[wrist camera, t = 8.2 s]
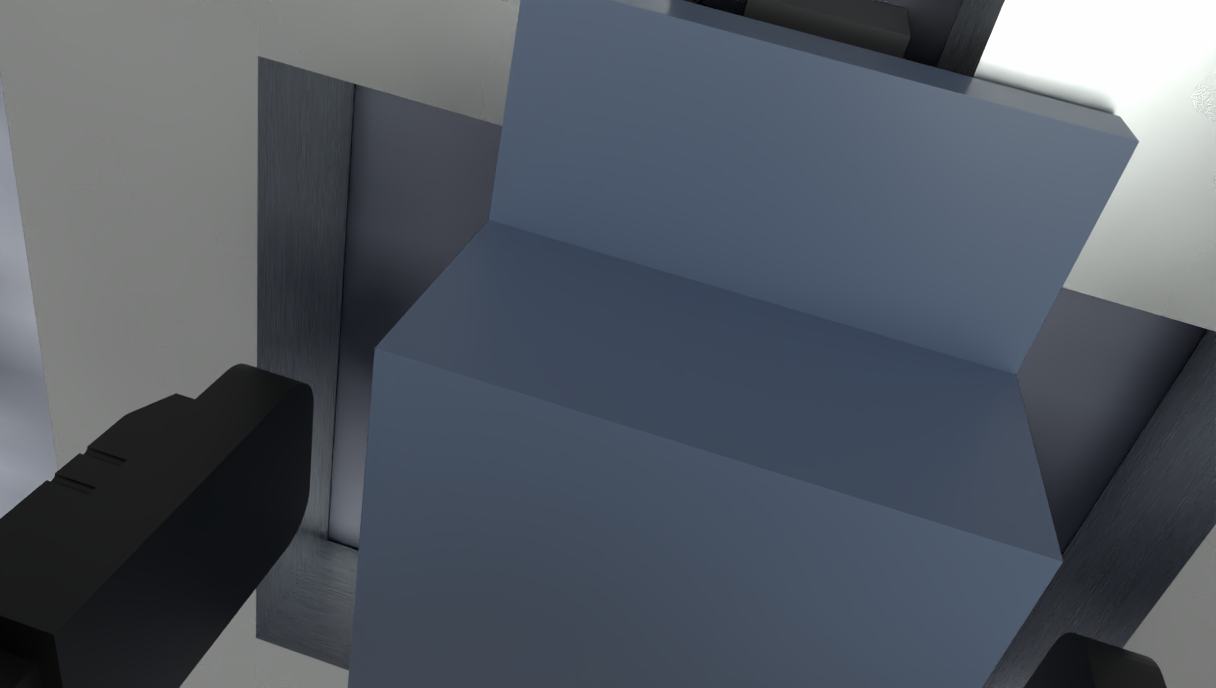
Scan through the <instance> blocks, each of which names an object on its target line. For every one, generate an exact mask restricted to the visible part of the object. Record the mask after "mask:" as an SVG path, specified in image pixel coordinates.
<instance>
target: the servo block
mask: <svg viewBox="0 0 1216 688" xmlns="http://www.w3.org/2000/svg"><path fill="white" fill-rule="evenodd" d="M910 37H911V35H910V29H909V23H908V17H907V11H906V9H905V8H901V7H897V6H893V5H890V4H886V3H882V2H878V1H874V0H748V1H747V4H746V8H745V12H744V15H743V16H739V15H736V14H732V13H728V12H724V11H721V10H717V9H713V8H709V7H706V6H702V5H698V4H694V3H690V2H687V1H683V0H520V6H519V13H518V20H517V27H516V34H515V41H514V48H513V55H512V62H511V68H510V75H509V82H508V89H507V96H506V103H505V110H504V117H503V124H502V130H501V137H500V144H499V151H498V158H497V165H496V172H495V179H494V186H493V192H492V199H491V206H490V213H489V220H488V221H487V222H486V223H485V224H484V226H483V227H482V228H481V229H480V230H479V231H478V232H477V233H476V235H475V236H474V237H473V238H472V239H471V240H470V241H469V242H468V244H467V245H466V246H465V247H464V248H463V249H462V250H461V251H460V253H459V254H458V255H457V256H456V257H455V258H454V259H453V260H452V262H451V263H450V264H449V265H448V266H447V267H446V268H445V269H444V271H443V272H442V273H441V274H440V275H439V276H438V277H437V278H436V280H435V281H434V282H433V283H432V284H431V285H430V286H429V287H428V289H427V290H426V291H425V292H424V293H423V294H422V295H421V296H420V298H419V299H418V300H417V301H416V302H415V303H414V304H413V305H412V307H411V308H410V309H409V310H408V311H407V312H406V313H405V314H404V316H403V317H402V318H401V319H400V320H399V321H398V322H397V323H396V325H395V326H394V327H393V328H392V329H391V330H390V331H389V332H388V334H387V335H386V336H385V337H384V338H383V339H382V340H381V341H380V343H379V344H378V345H377V346H376V347H375V352H374V364H373V377H372V389H371V402H370V414H369V427H368V439H367V452H366V464H365V477H364V489H363V502H362V514H361V527H360V539H359V552H358V564H357V577H356V589H355V602H354V614H353V627H352V639H351V652H350V664H349V677H348V688H982V687H983V685H984V684H985V682H986V681H987V679H988V677H989V676H990V674H991V673H992V671H993V670H994V668H995V667H996V665H997V664H998V662H999V660H1000V659H1001V657H1002V656H1003V654H1004V653H1005V651H1006V650H1007V648H1008V647H1009V645H1010V643H1011V642H1012V640H1013V639H1014V637H1015V636H1016V634H1017V633H1018V631H1019V629H1020V628H1021V626H1022V625H1023V623H1024V622H1025V620H1026V619H1027V617H1028V616H1029V614H1030V612H1031V611H1032V609H1033V608H1034V606H1035V605H1036V603H1037V602H1038V600H1039V599H1040V597H1041V595H1042V594H1043V592H1044V591H1045V589H1046V588H1047V586H1048V585H1049V583H1050V581H1051V580H1052V578H1053V577H1054V575H1055V574H1056V572H1057V571H1058V569H1059V568H1060V566H1061V564H1062V563H1063V559H1062V555H1061V551H1060V547H1059V544H1058V540H1057V536H1056V532H1055V528H1054V524H1053V520H1052V516H1051V512H1050V508H1049V504H1048V500H1047V496H1046V492H1045V488H1044V484H1043V480H1042V476H1041V472H1040V468H1039V464H1038V460H1037V456H1036V452H1035V448H1034V444H1033V440H1032V436H1031V432H1030V428H1029V424H1028V420H1027V416H1026V412H1025V408H1024V405H1023V401H1022V397H1021V393H1020V389H1019V385H1018V381H1017V377H1016V374H1017V372H1018V370H1019V368H1020V366H1021V364H1022V363H1023V361H1024V359H1025V357H1026V355H1027V353H1028V351H1029V349H1030V347H1031V346H1032V344H1033V342H1034V340H1035V338H1036V336H1037V334H1038V332H1039V330H1040V329H1041V327H1042V325H1043V323H1044V321H1045V319H1046V317H1047V315H1048V313H1049V312H1050V310H1051V308H1052V306H1053V304H1054V302H1055V300H1056V298H1057V296H1058V295H1059V293H1060V291H1061V289H1062V287H1063V285H1064V283H1065V281H1066V279H1067V277H1068V276H1069V274H1070V272H1071V270H1072V268H1073V266H1074V264H1075V262H1076V260H1077V259H1078V257H1079V255H1080V253H1081V251H1082V249H1083V247H1084V245H1085V243H1086V242H1087V240H1088V238H1089V236H1090V234H1091V232H1092V230H1093V228H1094V226H1095V225H1096V223H1097V221H1098V219H1099V217H1100V215H1101V213H1102V211H1103V209H1104V208H1105V206H1106V204H1107V202H1108V200H1109V198H1110V196H1111V194H1112V192H1113V191H1114V189H1115V187H1116V185H1117V183H1118V181H1119V179H1120V177H1121V175H1122V173H1123V172H1124V170H1125V168H1126V166H1127V164H1128V162H1129V160H1130V158H1131V156H1132V155H1133V153H1134V151H1135V149H1136V147H1137V145H1138V143H1139V140H1138V139H1137V138H1136V136H1135V135H1134V134H1133V132H1132V131H1131V130H1130V129H1129V127H1128V126H1127V125H1126V123H1125V122H1124V121H1123V120H1122V118H1121V117H1120V116H1117V115H1113V114H1109V113H1105V112H1101V111H1098V110H1094V109H1090V108H1086V107H1083V106H1079V105H1075V104H1071V103H1068V102H1064V101H1060V100H1056V99H1052V98H1049V97H1045V96H1041V95H1037V94H1034V93H1030V92H1026V91H1022V90H1019V89H1015V88H1011V87H1007V86H1003V85H1000V84H996V83H992V82H988V81H985V80H981V79H977V78H973V77H970V76H966V75H962V74H958V73H954V72H951V71H947V70H943V69H939V68H936V67H932V66H928V65H924V64H920V63H917V62H913V61H909V60H905V59H903V56H904V53H905V51H906V48H907V45H908V42H909V40H910Z"/></svg>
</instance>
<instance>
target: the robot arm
mask: <svg viewBox="0 0 1216 688" xmlns="http://www.w3.org/2000/svg"><path fill="white" fill-rule="evenodd" d="M313 407H314V397H313V391H312V389H311V387H310V386H309V385H308V384H306V383H303V382H300V381H297V380H294V379H291V378H288V377H285V376H281V375H278V374H275V373H272V372H269V371H266V370H263V369H260V368H257V367H253V366H250V365H247V364H243V363H240V364H236V365H234V366H232V367H231V368H230V369H228V370H227V371H226V372H225V373H224V374H223V375H221V376H220V377H219V378H218V379H217V380H216V381H215V382H214V383H212V384H211V385H210V386H209V387H208V388H207V389H206V390H205V391H204V392H202V393H201V394H200V395H199V396H198V397H197V398H196V399H193V398H190V397H186V396H183V395H180V394H177V393H175V394H173V395H171V396H168V397H166V398H164V399H161V400H159V401H157V402H154V403H152V404H149V405H147V406H145V407H142V408H140V409H138V410H135V411H133V412H130V413H128V414H126V415H124V416H123V417H122V418H121V419H120V420H118V421H117V422H116V423H115V424H114V425H112V426H111V427H110V428H109V429H108V430H106V431H105V432H104V433H103V434H102V435H100V436H99V437H98V438H97V439H96V440H94V441H93V442H92V443H91V444H90V445H88V446H87V450H86V452H85V453H84V454H81V453H79V454H78V455H76V456H75V457H74V458H73V459H72V460H70V461H69V462H68V463H67V464H66V465H64V466H63V467H62V468H61V469H60V470H58V471H57V472H56V473H55V477H54V479H53V480H52V481H51V482H50V481H47V480H46V481H45V482H44V483H43V484H42V485H40V486H39V487H38V488H37V489H36V490H34V491H33V492H32V493H31V494H30V495H28V496H27V497H26V498H25V499H24V500H22V501H21V502H20V503H19V504H18V505H17V506H15V507H14V508H13V509H12V510H11V511H9V512H8V513H7V514H6V515H5V516H3V517H2V518H1V519H0V688H179V687H180V686H181V685H182V684H183V682H184V681H185V680H186V678H187V677H188V676H189V675H190V673H191V672H192V671H193V669H194V668H195V667H196V665H197V664H198V663H199V662H200V660H201V659H202V658H203V656H204V655H205V654H206V652H207V651H208V650H209V649H210V647H211V646H212V645H213V643H214V642H215V641H216V640H217V638H218V637H219V636H220V634H221V633H222V632H223V630H224V629H225V628H226V627H227V625H228V624H229V623H230V621H231V620H232V619H233V618H234V616H235V615H236V614H237V612H238V611H239V610H240V608H241V607H242V606H243V605H244V603H245V602H246V601H247V599H248V598H249V597H250V596H251V594H252V593H253V592H254V590H255V589H256V588H257V586H258V585H259V584H260V583H261V581H262V580H263V579H264V577H265V576H266V575H267V574H268V572H269V571H270V570H271V568H272V567H273V566H274V564H275V563H276V562H277V561H278V559H279V558H280V557H281V555H282V554H283V553H284V552H285V550H286V549H287V547H288V546H289V545H290V543H291V541H292V540H293V538H294V536H295V535H296V533H297V531H298V529H299V526H300V524H301V522H302V519H303V517H304V514H305V511H306V507H307V503H308V499H309V493H310V475H311V453H312V430H313ZM1024 688H1167V687H1166V684H1165V681H1164V678H1163V675H1162V673H1161V670H1160V668H1159V666H1158V665H1157V663H1156V662H1155V661H1154V660H1153V659H1151V658H1150V657H1148V656H1145V655H1142V654H1138V653H1135V652H1132V651H1129V650H1126V649H1123V648H1120V647H1117V646H1114V645H1110V644H1107V643H1104V642H1101V641H1098V640H1095V639H1092V638H1089V637H1086V636H1083V635H1079V634H1076V633H1072V632H1069V633H1065V634H1064V635H1062V636H1061V637H1059V638H1058V639H1057V640H1056V642H1055V643H1054V644H1053V645H1052V647H1051V648H1050V650H1049V651H1048V653H1047V654H1046V656H1045V657H1044V659H1043V660H1042V661H1041V663H1040V664H1039V666H1038V667H1037V669H1036V670H1035V672H1034V673H1033V674H1032V676H1031V677H1030V679H1029V680H1028V682H1027V683H1026V685H1025V686H1024Z"/></svg>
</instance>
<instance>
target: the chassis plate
mask: <svg viewBox="0 0 1216 688" xmlns="http://www.w3.org/2000/svg"><path fill="white" fill-rule="evenodd" d="M683 1H687V2H690V3H694V4H698V0H683ZM519 6H520V0H0V72H1V79H2V86H3V93H4V100H5V107H6V114H7V121H8V128H9V135H10V141H11V148H12V155H13V162H14V169H15V176H16V183H17V190H18V197H19V204H20V211H21V217H22V224H23V231H24V238H25V245H26V252H27V259H28V266H29V273H30V280H31V287H32V293H33V300H34V307H35V314H36V321H37V328H38V335H39V342H40V349H41V356H42V363H43V369H44V376H45V383H46V390H47V397H48V404H49V411H50V418H51V425H52V432H53V439H54V445H55V452H56V459H57V466H58V470H60V469H61V468H62V467H63V466H64V465H66V464H67V463H68V462H69V461H70V460H72V459H73V458H74V457H75V456H76V455H78V454H79V453H81V454H84V453H85V452H86V450H87V446H88V445H90V444H91V443H92V442H93V441H94V440H96V439H97V438H98V437H99V436H100V435H102V434H103V433H104V432H105V431H106V430H108V429H109V428H110V427H111V426H112V425H114V424H115V423H116V422H117V421H118V420H120V419H121V418H122V417H123V416H124V415H126V414H128V413H130V412H133V411H135V410H138V409H140V408H142V407H145V406H147V405H149V404H152V403H154V402H157V401H159V400H161V399H164V398H166V397H168V396H171V395H173V394H175V393H177V394H180V395H183V396H186V397H190V398H193V399H196V398H197V397H198V396H199V395H200V394H201V393H202V392H204V391H205V390H206V389H207V388H208V387H209V386H210V385H211V384H212V383H214V382H215V381H216V380H217V379H218V378H219V377H220V376H221V375H223V374H224V373H225V372H226V371H227V370H228V369H230V368H231V367H232V366H234V365H236V364H240V363H243V364H247V365H250V366H253V367H257V368H260V369H263V370H266V371H269V372H272V373H275V374H278V375H281V376H285V377H288V378H291V379H294V380H297V381H300V382H303V383H306V384H308V385H309V386H310V387H311V389H312V391H313V397H314V407H313V430H312V453H311V475H310V493H309V499H308V503H307V507H306V511H305V514H304V517H303V519H302V522H301V524H300V526H299V529H298V531H297V533H296V535H295V536H294V538H293V540H292V541H291V543H290V545H289V546H288V547H287V549H286V550H285V552H284V553H283V554H282V555H281V557H280V558H279V559H278V561H277V562H276V563H275V564H274V566H273V567H272V568H271V570H270V571H269V572H268V574H267V575H266V576H265V577H264V579H263V580H262V581H261V583H260V584H259V585H258V586H257V588H256V589H255V590H254V592H253V593H252V594H251V596H250V597H249V598H248V599H247V601H246V602H245V603H244V605H243V606H242V607H241V608H240V610H239V611H238V612H237V614H236V615H235V616H234V618H233V619H232V620H231V621H230V623H229V624H228V625H227V627H226V628H225V629H224V630H223V632H222V633H221V634H220V636H219V637H218V638H217V640H216V641H215V642H214V643H213V645H212V646H211V647H210V649H209V650H208V651H207V652H206V654H205V655H204V656H203V658H202V659H201V660H200V662H199V663H198V664H197V665H196V667H195V668H194V669H193V671H192V672H191V673H190V675H189V676H188V677H187V678H186V680H185V681H184V682H183V684H182V685H181V686H180V687H179V688H348V677H349V664H350V652H351V639H352V627H353V614H354V602H355V589H356V577H357V564H358V552H359V551H358V550H355V549H352V548H349V547H346V546H343V545H340V544H337V543H334V542H331V541H328V540H327V534H328V518H329V501H330V484H331V467H332V450H333V434H334V417H335V400H336V383H337V366H338V350H339V333H340V316H341V299H342V282H343V266H344V249H345V232H346V215H347V198H348V182H349V165H350V148H351V131H352V114H353V98H354V84H357V85H361V86H364V87H368V88H371V89H375V90H378V91H382V92H385V93H389V94H392V95H396V96H399V97H403V98H406V99H410V100H413V101H417V102H420V103H423V104H427V105H430V106H434V107H437V108H441V109H444V110H448V111H451V112H455V113H458V114H462V115H465V116H469V117H472V118H476V119H479V120H483V121H486V122H490V123H493V124H496V125H500V126H502V124H503V117H504V110H505V103H506V96H507V89H508V82H509V75H510V68H511V62H512V55H513V48H514V41H515V34H516V27H517V20H518V13H519ZM937 68H939V69H943V70H947V71H951V72H954V73H958V74H962V75H966V76H970V77H973V78H977V79H981V80H985V81H988V82H992V83H996V84H1000V85H1003V86H1007V87H1011V88H1015V89H1019V90H1022V91H1026V92H1030V93H1034V94H1037V95H1041V96H1045V97H1049V98H1052V99H1056V100H1060V101H1064V102H1068V103H1071V104H1075V105H1079V106H1083V107H1086V108H1090V109H1094V110H1098V111H1101V112H1105V113H1109V114H1113V115H1117V116H1120V117H1121V118H1122V120H1123V121H1124V122H1125V123H1126V125H1127V126H1128V127H1129V129H1130V130H1131V131H1132V132H1133V134H1134V135H1135V136H1136V138H1137V139H1138V140H1139V143H1138V145H1137V147H1136V149H1135V151H1134V153H1133V155H1132V156H1131V158H1130V160H1129V162H1128V164H1127V166H1126V168H1125V170H1124V172H1123V173H1122V175H1121V177H1120V179H1119V181H1118V183H1117V185H1116V187H1115V189H1114V191H1113V192H1112V194H1111V196H1110V198H1109V200H1108V202H1107V204H1106V206H1105V208H1104V209H1103V211H1102V213H1101V215H1100V217H1099V219H1098V221H1097V223H1096V225H1095V226H1094V228H1093V230H1092V232H1091V234H1090V236H1089V238H1088V240H1087V242H1086V243H1085V245H1084V247H1083V249H1082V251H1081V253H1080V255H1079V257H1078V259H1077V260H1076V262H1075V264H1074V266H1073V268H1072V270H1071V272H1070V274H1069V276H1068V277H1067V279H1066V281H1065V283H1064V285H1063V288H1066V289H1070V290H1073V291H1077V292H1080V293H1084V294H1087V295H1091V296H1094V297H1098V298H1101V299H1105V300H1108V301H1112V302H1115V303H1119V304H1122V305H1126V306H1129V307H1132V308H1136V309H1139V310H1143V311H1146V312H1150V313H1153V314H1157V315H1160V316H1164V317H1167V318H1171V319H1174V320H1178V321H1181V322H1185V323H1188V324H1192V325H1195V326H1199V327H1202V328H1205V329H1208V331H1207V332H1206V334H1205V335H1204V337H1203V338H1202V340H1201V341H1200V343H1199V345H1198V346H1197V348H1196V349H1195V351H1194V352H1193V354H1192V355H1191V357H1190V358H1189V360H1188V362H1187V363H1186V365H1185V366H1184V368H1183V369H1182V371H1181V372H1180V374H1179V375H1178V377H1177V379H1176V380H1175V382H1174V383H1173V385H1172V386H1171V388H1170V389H1169V391H1168V392H1167V394H1166V396H1165V397H1164V399H1163V400H1162V402H1161V403H1160V405H1159V406H1158V408H1157V409H1156V411H1155V413H1154V414H1153V416H1152V417H1151V419H1150V420H1149V422H1148V423H1147V425H1146V426H1145V428H1144V430H1143V431H1142V433H1141V434H1140V436H1139V437H1138V439H1137V440H1136V442H1135V443H1134V445H1133V447H1132V448H1131V450H1130V451H1129V453H1128V454H1127V456H1126V457H1125V459H1124V460H1123V462H1122V464H1121V465H1120V467H1119V468H1118V470H1117V471H1116V473H1115V474H1114V476H1113V477H1112V479H1111V481H1110V482H1109V484H1108V485H1107V487H1106V488H1105V490H1104V491H1103V493H1102V494H1101V496H1100V498H1099V499H1098V501H1097V502H1096V504H1095V505H1094V507H1093V508H1092V510H1091V511H1090V513H1089V515H1088V516H1087V518H1086V519H1085V521H1084V522H1083V524H1082V525H1081V527H1080V528H1079V530H1078V532H1077V533H1076V535H1075V536H1074V538H1073V539H1072V541H1071V542H1070V544H1069V545H1068V547H1067V549H1066V550H1065V552H1064V553H1063V555H1062V559H1063V563H1062V564H1061V566H1060V568H1059V569H1058V571H1057V572H1056V574H1055V575H1054V577H1053V578H1052V580H1051V581H1050V583H1049V585H1048V586H1047V588H1046V589H1045V591H1044V592H1043V594H1042V595H1041V597H1040V599H1039V600H1038V602H1037V603H1036V605H1035V606H1034V608H1033V609H1032V611H1031V612H1030V614H1029V616H1028V617H1027V619H1026V620H1025V622H1024V623H1023V625H1022V626H1021V628H1020V629H1019V631H1018V633H1017V634H1016V636H1015V637H1014V639H1013V640H1012V642H1011V643H1010V645H1009V647H1008V648H1007V650H1006V651H1005V653H1004V654H1003V656H1002V657H1001V659H1000V660H999V662H998V664H997V665H996V667H995V668H994V670H993V671H992V673H991V674H990V676H989V677H988V679H987V681H986V682H985V684H984V685H983V687H982V688H1024V686H1025V685H1026V683H1027V682H1028V680H1029V679H1030V677H1031V676H1032V674H1033V673H1034V672H1035V670H1036V669H1037V667H1038V666H1039V664H1040V663H1041V661H1042V660H1043V659H1044V657H1045V656H1046V654H1047V653H1048V651H1049V650H1050V648H1051V647H1052V645H1053V644H1054V643H1055V642H1056V640H1057V639H1058V638H1059V637H1061V636H1062V635H1064V634H1065V633H1069V632H1072V633H1076V634H1079V635H1083V636H1086V637H1089V638H1092V639H1095V640H1098V641H1101V642H1104V643H1107V644H1110V645H1114V646H1117V647H1120V648H1123V649H1126V650H1129V651H1132V652H1135V653H1138V654H1142V655H1145V656H1148V657H1150V658H1151V659H1153V660H1154V661H1155V662H1156V663H1157V665H1158V666H1159V668H1160V670H1161V673H1162V675H1163V678H1164V681H1165V684H1166V687H1167V688H1216V0H963V2H962V4H961V7H960V9H959V12H958V14H957V17H956V19H955V22H954V24H953V27H952V30H951V32H950V35H949V37H948V40H947V42H946V45H945V47H944V50H943V52H942V55H941V57H940V60H939V63H938V65H937Z"/></svg>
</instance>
